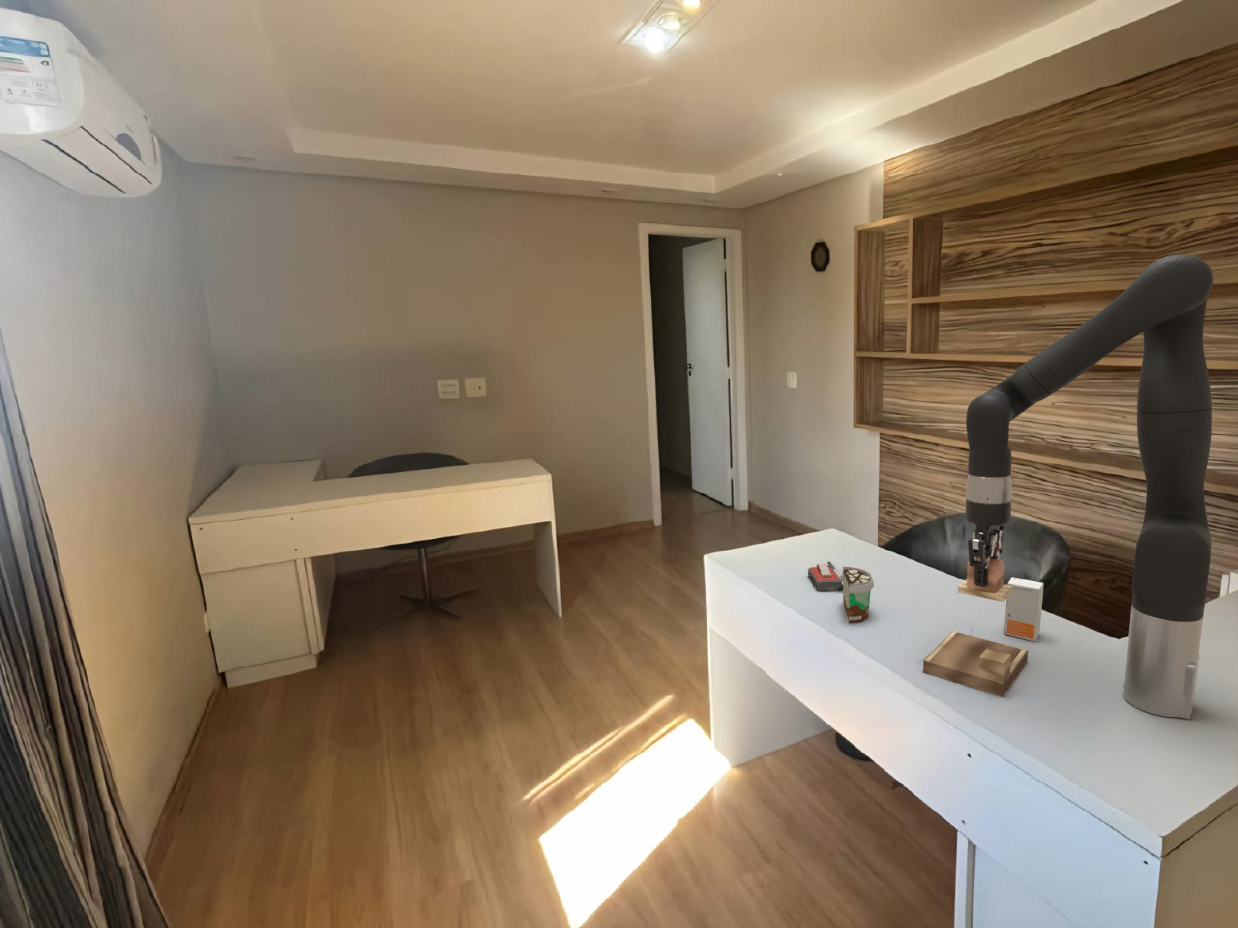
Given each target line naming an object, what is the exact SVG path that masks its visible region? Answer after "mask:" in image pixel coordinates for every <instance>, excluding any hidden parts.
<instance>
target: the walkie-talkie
mask: <svg viewBox="0 0 1238 928" xmlns="http://www.w3.org/2000/svg"><path fill="white" fill-rule="evenodd" d="M826 563H827V565H828V566H827V565H826V564H825V563H818V564H816V566H812V567H809V568H808V569H807V570H808V571H807V575H808V579H809V580H810V582H811V583H812V585H813V586H814V587H813V588H815V591H817V592H819V593H834V592H836V593H837V592H838V593H839V592H841V591H842V592H843V571H841V569H840V568H836V567H835V566H834V564H833V563H832V562H831V561H829V560H828V561H827V562H826Z"/></svg>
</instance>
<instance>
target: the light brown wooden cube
mask: <svg viewBox="0 0 1238 928" xmlns="http://www.w3.org/2000/svg"><path fill="white" fill-rule="evenodd" d="M1010 659H1011V655H1010V654H1006V653H1002V652H998V651H994V650H990V649H986V650H985V651H984V652H983V653H982V655H981V656H980V657H979V677H981V678H985V679H988V680H992V681H996V682H999V683H1003V684H1004V682H1005V681H1006V680H1007V678H1008V677H1009V676H1010Z"/></svg>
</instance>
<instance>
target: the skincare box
mask: <svg viewBox="0 0 1238 928" xmlns="http://www.w3.org/2000/svg"><path fill="white" fill-rule="evenodd" d="M1006 585H1010V586H1013V592H1012V593H1011V594H1010V595H1009V596H1008V597H1007V598H1006V599H1005V611H1004V625H1003V626H1004V627H1003V634H1004V635H1006V636H1011V637H1015V638H1019V639H1023V640H1027V641H1030V642H1034V643H1035V642H1036V641H1037V639H1038V637H1039V636H1040V633H1041V618H1042V605H1043V596H1044V595H1043V594H1044V586H1045V585H1044V583H1043V582H1041V581H1040V582H1038V581H1033V580H1029V579H1023V578H1017V577H1010V579H1009V580H1008V582H1007V583H1006Z"/></svg>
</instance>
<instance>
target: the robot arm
mask: <svg viewBox="0 0 1238 928" xmlns="http://www.w3.org/2000/svg"><path fill="white" fill-rule="evenodd" d="M1213 286H1214V273H1213V271H1212V268H1211V267H1210V265H1209V264H1208V263H1207V262H1206V261H1204V260H1203V259H1202V258H1200V257H1198V256H1195V255H1191V254H1181V253H1180V254H1178V253H1177V254H1171V255H1168V256H1167V255H1166V256H1164V257H1162V258H1160V259H1157V260H1154V262H1152V263H1150V264H1149V265H1147V266H1146V268H1144V270H1143V271H1142V272H1141V273H1140V274H1139V275H1138V277H1137V278H1136V279H1135V280H1134V281H1133V282H1132V283H1131V284H1130V285H1129V286H1128V287H1127V288H1126V289H1125V290H1124V291H1122V293H1120V295H1118V296H1117V297H1116V298H1115V299H1114V300H1113V301H1112V302H1110V303H1109V304H1108V305H1107V306H1105V307H1104V308H1103V309H1102V310H1100V311H1099V312H1098V313H1097V314H1095V315H1094V316H1093V317H1091V318H1089V320H1087V321H1085V322H1084V323H1082V324H1081V325H1079V326H1078V327H1076V328H1075V329H1073V330H1071V331H1070V332H1069V333H1067V334H1066V335H1064V336H1063V337H1061V338H1059V340H1057V341H1054V343H1052V344H1051V345H1049V346H1047V347H1046V348H1044V349H1043V350H1042V351H1041V352H1039V353H1037V354H1036V355H1035V356H1033V357H1032V358H1031V359H1029V360H1028V361H1026V362H1025V363H1024V364H1022V365H1021V366H1020V367H1018V368H1017V369H1016V370H1015V371H1014V372H1013V374H1011V375H1010V376H1008V377H1007V378H1006V379H1004V380H1002V381H1001V382H999V383H997V385H995V386H993V387H992V388H991V389H989V390H987V391H985V392H984V393H982V394H980V395H978V396H977V397H974V398H973V400H972V401H970V403H969V405H968V407H967V409H966V421H965V423H966V425H965V426H966V434H967V442H968V449H969V450H968V451H969V452H968V464H967V465H968V466H967V467H968V468H967V469H968V470H967V472H968V473H967V474H968V475H967V480H966V486H965V487H966V488H965V520H966V521H967V522H969V523H972V524H974V525H975V529H974V530H973V531H972V538H971V537H969V538H968V540H967V544H968V557H969V558H968V560H969V561H968V563H969V562H970V563H969V564H970V566H972V567H974V584H975V585H976V586H980V587H986V586H987V585H988V567H989V560H990V559H996V560H1000V557H1001V556H1000V555H1002V553H1003V548H1004V540H1005V530H1006V525H1007V524H1009V523H1010V522H1011V519H1012V491H1013V484H1012V449H1011V447H1010V445H1009V433H1010V431H1009V427H1010V423H1011V422H1012V421H1013V420H1014V419H1016V418H1017V417H1019V416H1020V415H1022V414H1023V413H1024V412H1026V411H1027V410H1028V409H1030V408H1031V407H1032V406H1034V405H1035V404H1036V403H1038V402H1041V401H1042V400H1045V399H1047V398H1048V397H1050V396H1052V395H1053V394H1054V393H1056V392H1058V391H1059V390H1060V389H1062V388H1064V387H1065V386H1067V385H1068V384H1070V383H1071V382H1073V381H1074V380H1076V379H1077V378H1079V377H1080V376H1081V375H1082V374H1084V373H1085V372H1087V371H1088V370H1089V369H1091V368H1092V367H1094V365H1096V364H1097V363H1098V362H1101V360H1102V359H1104V358H1105V357H1106V356H1108V355H1109V354H1111V353H1113V351H1115V350H1116V349H1118V348H1119V347H1121V346H1122V345H1124V344H1125V343H1127V342H1128V341H1131V340H1132V339H1133V338H1135V337H1136V336H1139V335H1141V334H1142V335H1143V357H1142V363H1141V368H1140V374H1139V378H1138V379H1139V380H1138V389H1137V398H1136V399H1137V400H1136V433H1137V434H1136V435H1137V442H1138V449H1139V455H1140V460H1141V463H1142V464H1141V465H1142V468H1143V473H1144V475H1145V481H1146V497H1145V498H1146V500H1145V508H1144V509H1145V510H1144V517H1143V523H1142V526H1141V530H1140V533H1139V536H1138V538H1137V541H1136V545H1135V551H1134V561H1133V563H1134V564H1133V572H1132V573H1133V575H1132V585H1131V586H1132V588H1131V592H1132V593H1131V594H1132V595H1131V596H1132V599H1131V607H1130V620H1129V628H1128V629H1129V630H1128V640H1127V649H1126V661H1125V670H1124V682H1123V692H1122V695H1123V696H1122V697H1123V698H1124V699H1125V700H1126V702H1128V703H1129V704H1130V705H1131V706H1133V707H1135V708H1137V709H1139V710H1141V711H1143V712H1147V713H1150V714H1152V715H1155V716H1161V717H1165V718H1166V717H1167V718H1168V717H1169V718H1181V719H1185V720H1191V717H1192V712H1193V709H1194V706H1195V704H1194V703H1195V696H1196V695H1195V694H1196V688H1197V680H1198V672H1199V671H1198V670H1199V665H1200V663H1199V661H1200V647H1201V637H1202V630H1203V621H1204V614H1205V607H1206V601H1207V600H1206V599H1207V590H1208V585H1209V584H1208V582H1209V575H1210V567H1211V558H1212V546H1213V545H1212V544H1213V543H1212V537H1211V533H1210V528H1209V524H1208V515H1207V507H1206V501H1205V478H1206V474H1207V467H1208V464H1209V459H1210V452H1211V444H1212V434H1213V433H1212V432H1213V401H1212V400H1213V399H1212V389H1211V388H1212V387H1211V382H1210V375H1209V371H1208V370H1209V369H1208V366H1207V365H1208V364H1207V360H1206V355H1205V349H1204V327H1205V318H1206V309H1207V302H1208V298H1209V296H1210V294H1211V292H1212V289H1213ZM978 558H980V559H981V562H980V561H978Z"/></svg>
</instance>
